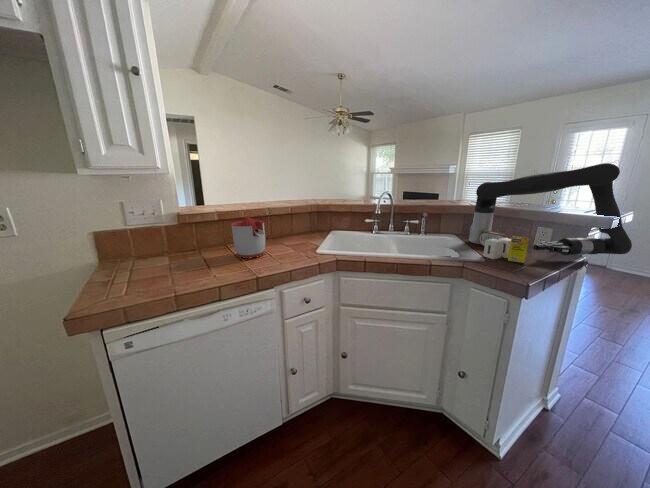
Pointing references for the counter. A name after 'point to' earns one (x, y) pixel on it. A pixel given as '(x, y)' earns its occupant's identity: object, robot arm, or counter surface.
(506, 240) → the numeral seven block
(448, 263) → the counter surface
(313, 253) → the counter surface
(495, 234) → the tin
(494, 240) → the numeral one block
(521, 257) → the supplement box
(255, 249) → the citrus juicer
